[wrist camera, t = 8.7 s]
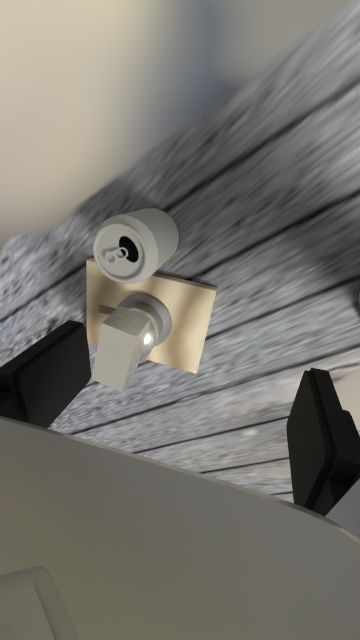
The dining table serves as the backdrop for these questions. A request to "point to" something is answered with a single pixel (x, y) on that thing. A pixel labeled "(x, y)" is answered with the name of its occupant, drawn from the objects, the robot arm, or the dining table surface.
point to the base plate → (168, 300)
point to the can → (135, 244)
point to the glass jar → (125, 343)
